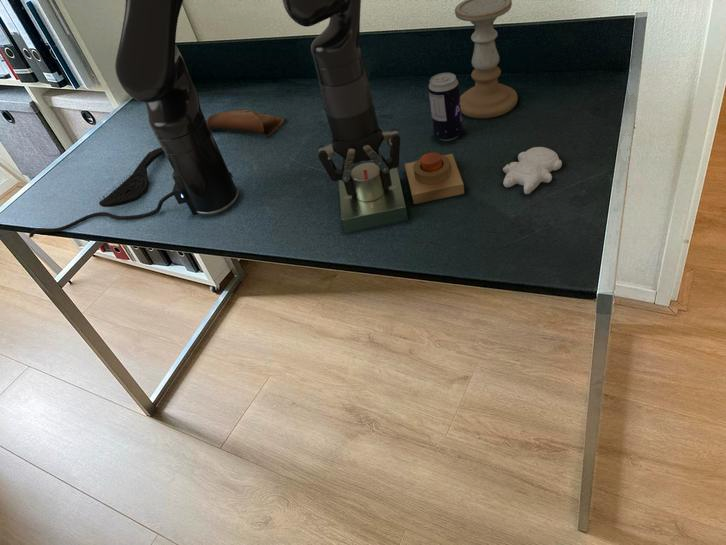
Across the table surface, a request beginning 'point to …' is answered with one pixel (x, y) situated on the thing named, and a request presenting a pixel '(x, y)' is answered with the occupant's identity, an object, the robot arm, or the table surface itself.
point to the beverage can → (445, 106)
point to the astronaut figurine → (532, 168)
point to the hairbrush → (132, 183)
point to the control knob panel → (373, 207)
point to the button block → (434, 180)
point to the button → (431, 162)
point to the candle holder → (485, 61)
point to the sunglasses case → (245, 122)
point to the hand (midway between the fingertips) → (369, 191)
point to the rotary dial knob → (367, 182)
